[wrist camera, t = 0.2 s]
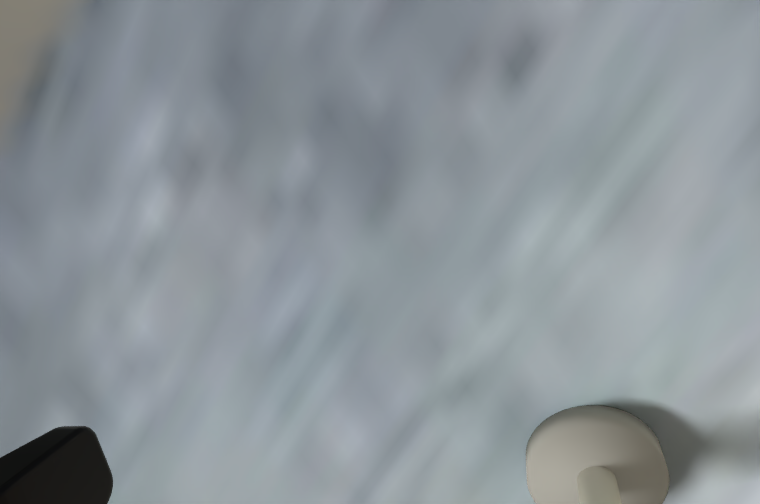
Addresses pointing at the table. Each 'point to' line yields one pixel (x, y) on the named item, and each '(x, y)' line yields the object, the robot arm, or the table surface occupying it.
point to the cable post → (595, 459)
